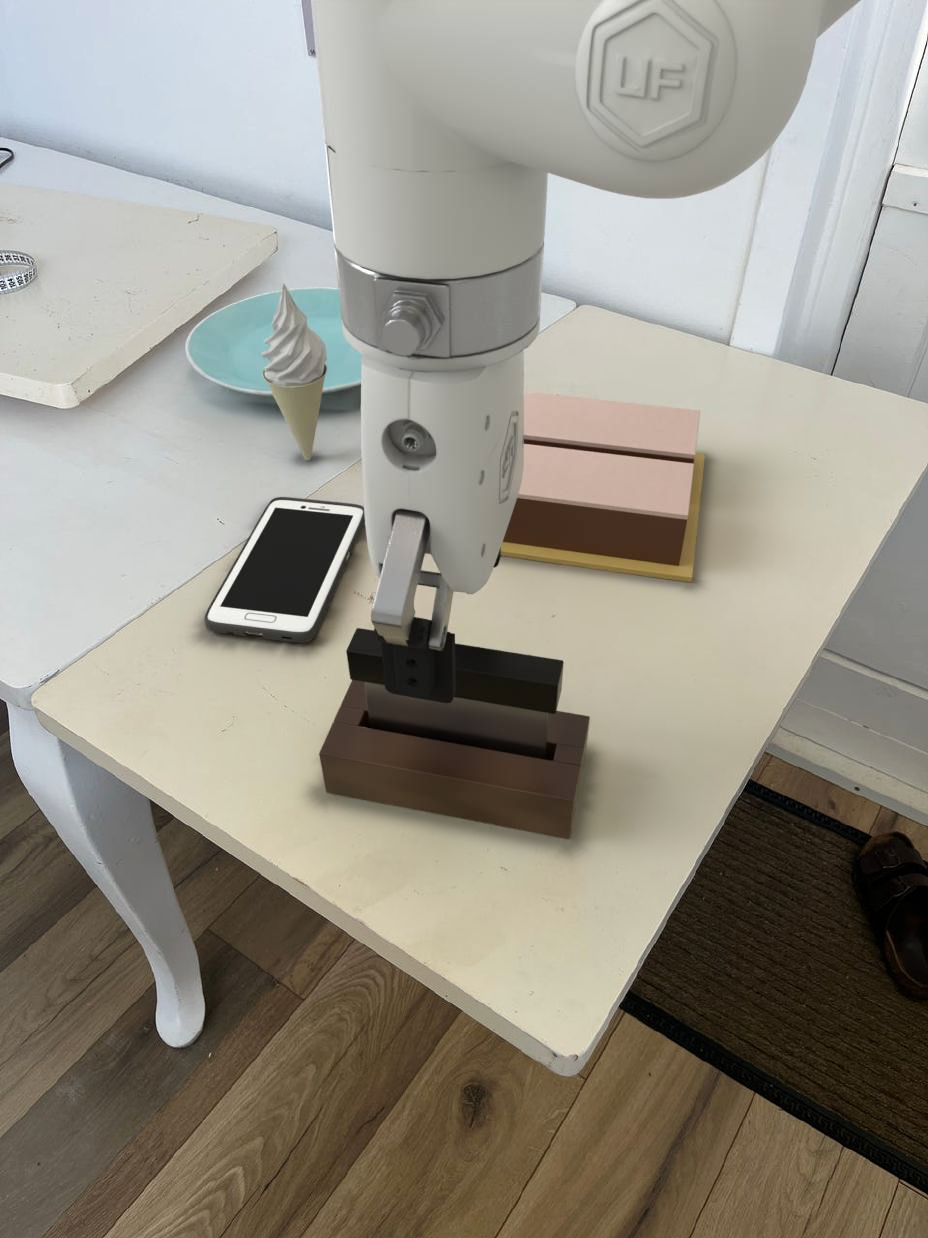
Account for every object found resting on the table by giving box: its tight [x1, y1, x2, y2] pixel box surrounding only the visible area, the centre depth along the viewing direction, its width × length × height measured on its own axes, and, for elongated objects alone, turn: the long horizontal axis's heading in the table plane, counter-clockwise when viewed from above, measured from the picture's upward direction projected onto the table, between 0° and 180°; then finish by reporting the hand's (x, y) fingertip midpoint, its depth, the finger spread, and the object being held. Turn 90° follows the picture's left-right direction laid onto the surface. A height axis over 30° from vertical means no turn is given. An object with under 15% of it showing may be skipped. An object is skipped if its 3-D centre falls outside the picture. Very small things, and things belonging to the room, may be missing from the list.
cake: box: [501, 391, 706, 583], centre depth 72 cm, size 16×16×5 cm
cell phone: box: [203, 496, 365, 643], centre depth 68 cm, size 8×15×1 cm, turn 169°
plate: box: [184, 287, 362, 398], centre depth 91 cm, size 22×22×3 cm
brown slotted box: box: [318, 680, 591, 840], centre depth 54 cm, size 14×6×4 cm, turn 76°
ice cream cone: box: [261, 283, 328, 462], centre depth 74 cm, size 5×5×15 cm
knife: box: [345, 627, 565, 760], centre depth 52 cm, size 11×2×10 cm, turn 76°
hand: (447, 622), depth 47 cm, fingers open, 9 cm apart
